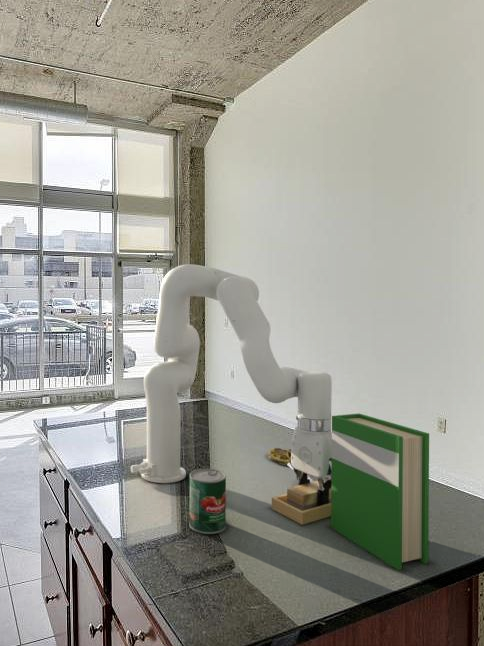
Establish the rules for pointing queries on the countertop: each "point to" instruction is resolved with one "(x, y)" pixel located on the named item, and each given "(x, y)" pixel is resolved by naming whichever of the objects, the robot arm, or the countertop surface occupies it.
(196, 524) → the canned tomato
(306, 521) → the holder
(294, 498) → the eraser
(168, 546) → the countertop surface
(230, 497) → the countertop surface
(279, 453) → the yellow-brown textured oval
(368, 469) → the hardback book
